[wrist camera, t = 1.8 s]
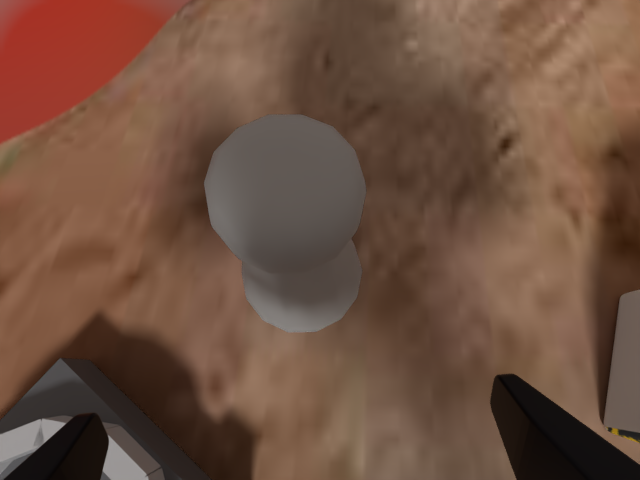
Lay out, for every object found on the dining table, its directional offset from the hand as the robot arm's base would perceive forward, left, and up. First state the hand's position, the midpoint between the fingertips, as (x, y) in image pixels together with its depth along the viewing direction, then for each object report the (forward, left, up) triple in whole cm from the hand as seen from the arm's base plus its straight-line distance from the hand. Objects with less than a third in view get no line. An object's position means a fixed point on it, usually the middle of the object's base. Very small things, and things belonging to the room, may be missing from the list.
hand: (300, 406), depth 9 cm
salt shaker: (+4, -4, -12) cm, 13 cm away
